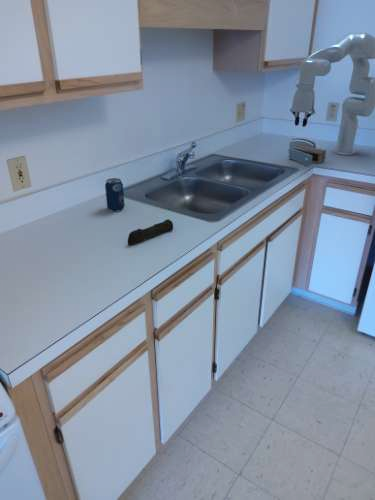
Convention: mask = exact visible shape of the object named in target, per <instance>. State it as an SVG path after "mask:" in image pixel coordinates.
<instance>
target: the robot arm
mask: <svg viewBox="0 0 375 500" xmlns="http://www.w3.org/2000/svg"><path fill="white" fill-rule="evenodd" d="M347 56H349V57H350V59H351V62H352V65H353V67H352V71H351V72H352V73H351V77H350V82H349V86H348V91H349V93H350V94H352V95H357V96H348V97H346V98H345V99H344V100H343V102H342V104H341V118H340V119H341V120H340V126H339V130H338V135H337V141H336V147H335V148H333V149H332V152H333V153H334V154H337V155H341V156H351V155H352V156H353V155H354V154H355V153H356V151H355V150H353V149H354V146H355V145H354V144H355V140H356V134H357V130H358V126H359V120H358V117H362V118H368V117H370V116H371V115H372V114H373V112H374V110H375V76H369V73H370V69H371V65H370V64H371V63H370V61H369V60H374V59H375V37H374V36H373V35H371V34H369V33H367V32H350V33H349V32H348V33H347V34H346V35H344V36H343V37H342V38H340V39H339V40H338V41H336V42H335V43H334V44H332V45H331V46H328V47H325V48H323V49H319V50H318V51H316V52H313V53H312V54H311V55H309V56H308V57H307V58H305V59H303V60H302V61H301V64H300V70H299V77H298V83H297V84H295V88H297V89H296V90H295V92H294V96H293V100H292V104H291V107H290V109H289V112H291V114H292V116H294V125H295V126H296V127H297V126H299V125H300V119H301V118H300V113H304V118H302V125H301V126H302V128H303V127H306V126H307V125H308V121H309V120H308V119H309V118H310V117H311V116H313V115H315V114H316V110H315V98H316V97H315V96H316V95H315V93H316V92H315V90H314V88H315V80H316V77H325V76H327V75H328V74H329V73H330V72H331V69H332V64H333V63H334V64H335V63H338V62H340V61H342V60H343V59H344V58H346V57H347ZM358 96H364V97H358Z"/></svg>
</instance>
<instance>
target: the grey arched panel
mask: <svg viewBox="0 0 375 500" xmlns="http://www.w3.org/2000/svg"><path fill="white" fill-rule="evenodd" d="M297 145H299V146H305V147H311V148H317V144H316V142H315V141H314V140H311V139H310V138H306V137H294V138H291V140H290V141H289V147H288V151H289V152H290V148H291V149H292V148H293V147H295V146H297Z"/></svg>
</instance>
